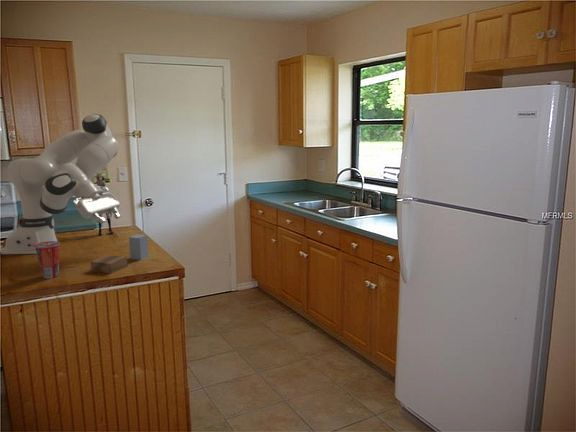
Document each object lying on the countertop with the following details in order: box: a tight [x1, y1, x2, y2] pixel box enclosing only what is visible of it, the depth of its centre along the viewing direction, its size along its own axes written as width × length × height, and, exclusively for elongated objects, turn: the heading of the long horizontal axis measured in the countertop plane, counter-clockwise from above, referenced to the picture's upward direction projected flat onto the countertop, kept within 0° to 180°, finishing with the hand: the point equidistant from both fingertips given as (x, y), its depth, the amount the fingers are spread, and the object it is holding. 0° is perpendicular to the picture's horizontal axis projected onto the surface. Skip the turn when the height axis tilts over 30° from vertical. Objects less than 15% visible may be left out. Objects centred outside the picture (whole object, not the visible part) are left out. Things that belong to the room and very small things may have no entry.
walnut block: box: [90, 254, 128, 274], centre depth 180 cm, size 9×9×4 cm
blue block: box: [128, 233, 149, 261], centre depth 193 cm, size 5×5×9 cm
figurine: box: [96, 173, 114, 237], centre depth 230 cm, size 15×6×30 cm, turn 117°
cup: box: [30, 240, 61, 279], centre depth 171 cm, size 9×8×12 cm
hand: (111, 220), depth 194 cm, fingers open, 8 cm apart
